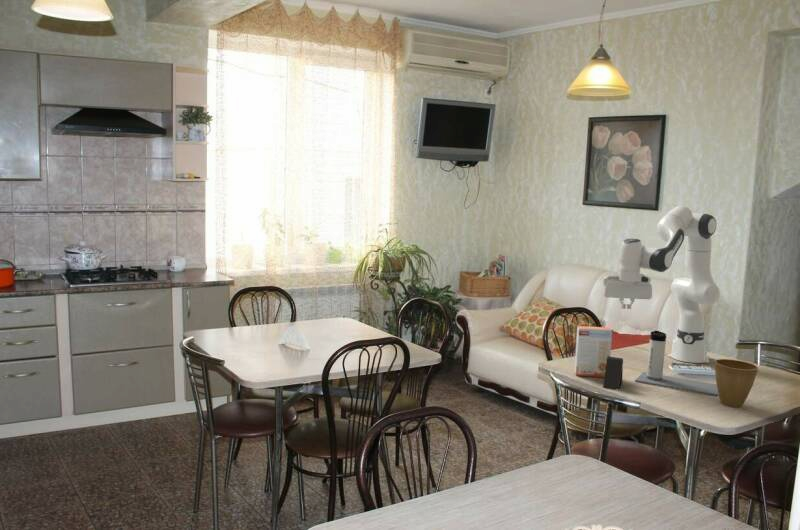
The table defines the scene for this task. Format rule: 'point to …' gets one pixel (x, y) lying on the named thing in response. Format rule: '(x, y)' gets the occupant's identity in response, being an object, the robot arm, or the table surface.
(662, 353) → the travel mug
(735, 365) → the plant pot
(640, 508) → the table surface
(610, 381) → the door stopper
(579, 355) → the cracker box
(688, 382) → the rubber mat
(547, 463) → the table surface
